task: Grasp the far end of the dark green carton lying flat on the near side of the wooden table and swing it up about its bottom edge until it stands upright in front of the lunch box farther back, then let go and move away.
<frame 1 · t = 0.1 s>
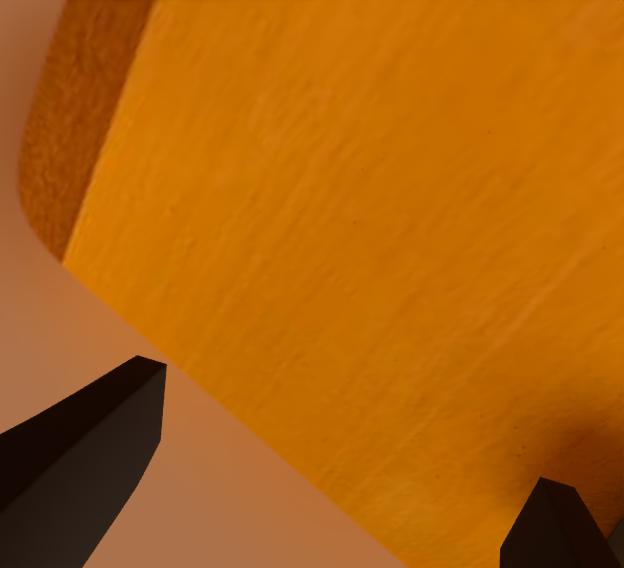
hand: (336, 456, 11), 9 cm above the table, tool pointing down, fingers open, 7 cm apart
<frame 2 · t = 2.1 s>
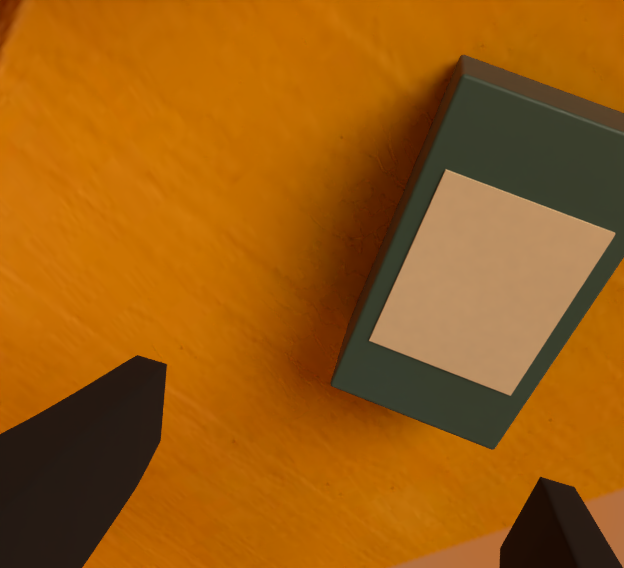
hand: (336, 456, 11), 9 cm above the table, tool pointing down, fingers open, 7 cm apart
carton: (478, 261, 16), point 2 cm above the table, hinge at 0.0°
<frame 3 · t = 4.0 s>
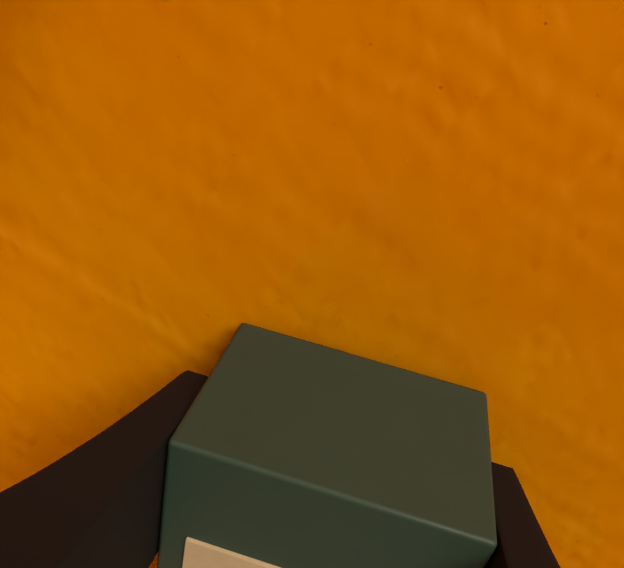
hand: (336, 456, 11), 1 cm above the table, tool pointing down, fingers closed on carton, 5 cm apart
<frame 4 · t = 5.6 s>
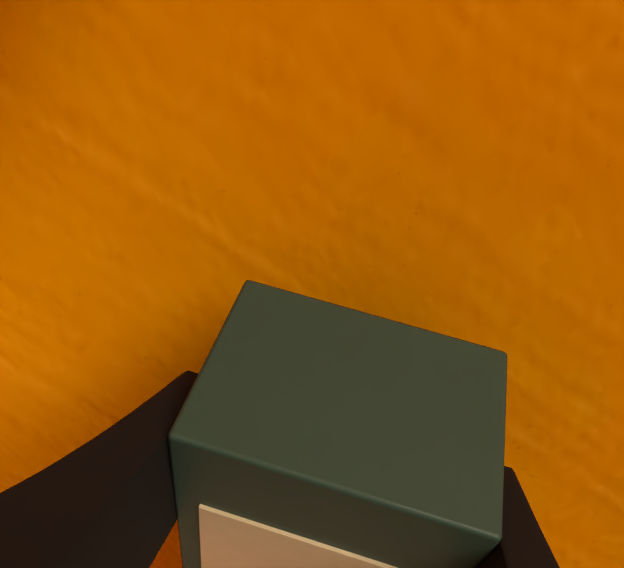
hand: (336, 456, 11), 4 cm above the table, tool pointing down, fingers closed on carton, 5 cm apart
carton: (318, 506, 13), point 3 cm above the table, hinge at 16.0°, touching gripper
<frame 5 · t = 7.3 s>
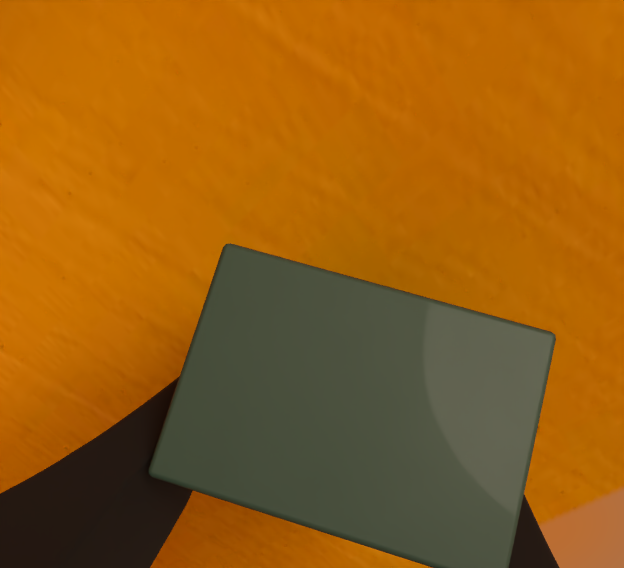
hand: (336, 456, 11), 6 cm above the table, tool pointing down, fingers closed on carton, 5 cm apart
carton: (347, 408, 12), point 5 cm above the table, hinge at 48.8°, touching gripper
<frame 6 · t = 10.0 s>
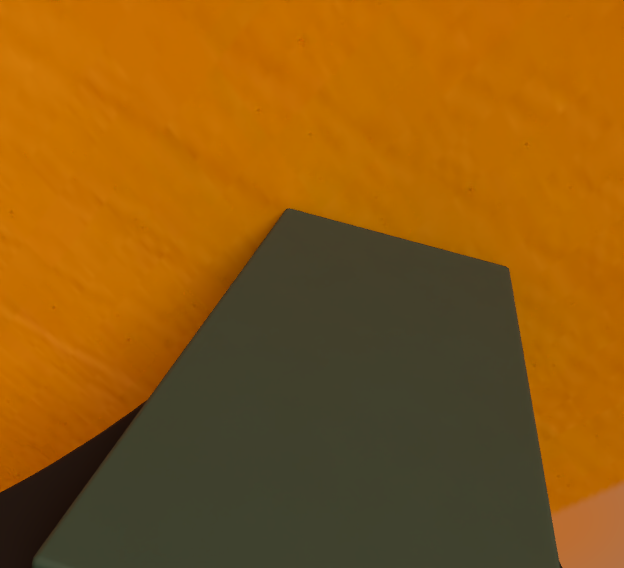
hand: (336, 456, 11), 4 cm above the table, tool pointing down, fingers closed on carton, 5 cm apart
carton: (343, 436, 10), point 4 cm above the table, hinge at 90.4°, touching gripper
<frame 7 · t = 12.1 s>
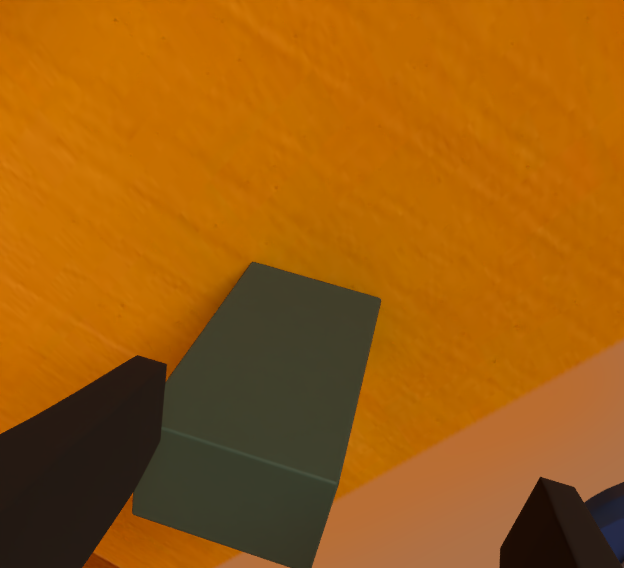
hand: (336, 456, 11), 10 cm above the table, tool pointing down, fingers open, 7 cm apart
carton: (275, 390, 18), point 4 cm above the table, hinge at 90.0°
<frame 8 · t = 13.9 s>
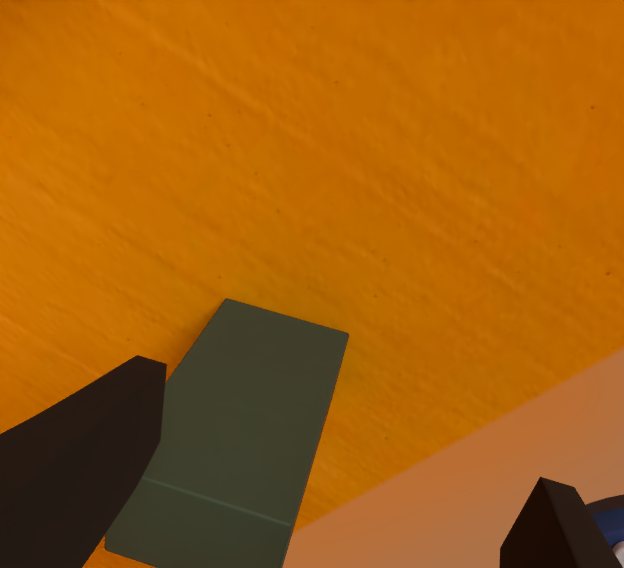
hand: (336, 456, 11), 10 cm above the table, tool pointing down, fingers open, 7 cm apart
carton: (244, 426, 19), point 4 cm above the table, hinge at 90.0°
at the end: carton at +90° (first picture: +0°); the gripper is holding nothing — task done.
